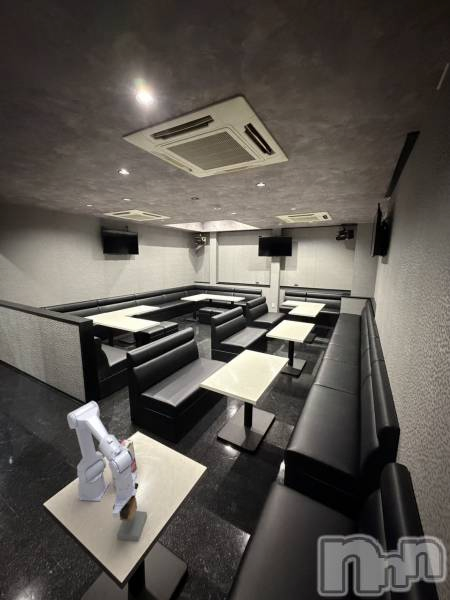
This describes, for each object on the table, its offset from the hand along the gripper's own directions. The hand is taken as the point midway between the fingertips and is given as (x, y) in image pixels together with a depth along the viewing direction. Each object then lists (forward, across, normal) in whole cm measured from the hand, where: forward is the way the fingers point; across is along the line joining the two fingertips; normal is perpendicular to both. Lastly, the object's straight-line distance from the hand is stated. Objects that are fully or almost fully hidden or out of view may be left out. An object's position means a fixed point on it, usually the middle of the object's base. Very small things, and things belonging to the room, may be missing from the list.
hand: (128, 510), depth 89 cm
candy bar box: (+9, +19, +12) cm, 25 cm away
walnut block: (+2, 0, 0) cm, 2 cm away
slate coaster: (+9, 0, -1) cm, 9 cm away
